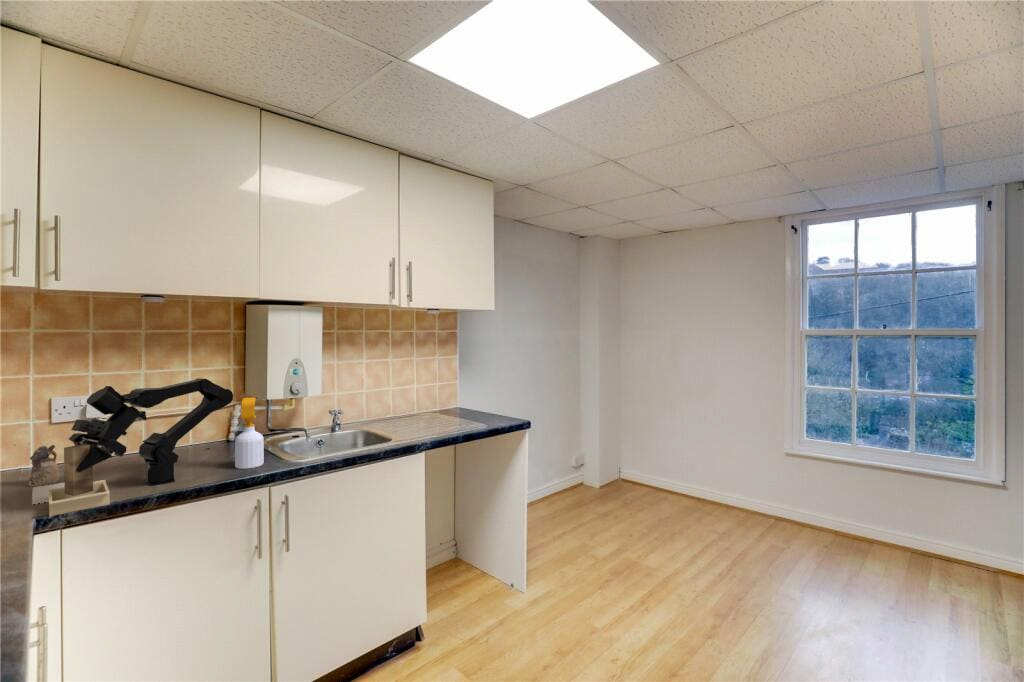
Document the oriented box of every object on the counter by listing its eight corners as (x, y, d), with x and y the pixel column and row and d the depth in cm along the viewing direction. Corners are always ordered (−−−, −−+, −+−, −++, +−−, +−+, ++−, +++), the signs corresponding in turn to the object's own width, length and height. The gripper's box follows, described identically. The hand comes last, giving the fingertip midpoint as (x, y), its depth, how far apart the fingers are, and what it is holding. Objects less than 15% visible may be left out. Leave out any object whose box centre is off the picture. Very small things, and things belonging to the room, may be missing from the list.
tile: (77, 484, 149) (77, 480, 149) (80, 496, 140) (80, 491, 140) (32, 492, 142) (32, 487, 142) (32, 505, 133) (31, 499, 132)
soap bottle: (264, 461, 177) (264, 395, 177) (262, 467, 169) (261, 399, 168) (237, 463, 174) (236, 397, 173) (233, 470, 166) (232, 400, 165)
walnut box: (84, 488, 136) (83, 444, 136) (93, 491, 135) (92, 445, 134) (64, 493, 132) (63, 447, 132) (73, 496, 130) (72, 449, 130)
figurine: (33, 481, 153) (32, 444, 152) (62, 478, 156) (62, 442, 156) (24, 487, 146) (24, 449, 146) (55, 484, 150) (55, 446, 150)
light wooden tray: (105, 492, 143) (105, 479, 143) (110, 505, 132) (110, 492, 132) (49, 502, 135) (48, 489, 135) (49, 517, 124) (49, 503, 124)
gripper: (76, 405, 140) (27, 451, 130) (113, 410, 133) (64, 459, 123) (108, 427, 148) (64, 471, 138) (144, 432, 140) (101, 480, 130)
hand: (72, 470), depth 132 cm, fingers closed on walnut box, 4 cm apart
